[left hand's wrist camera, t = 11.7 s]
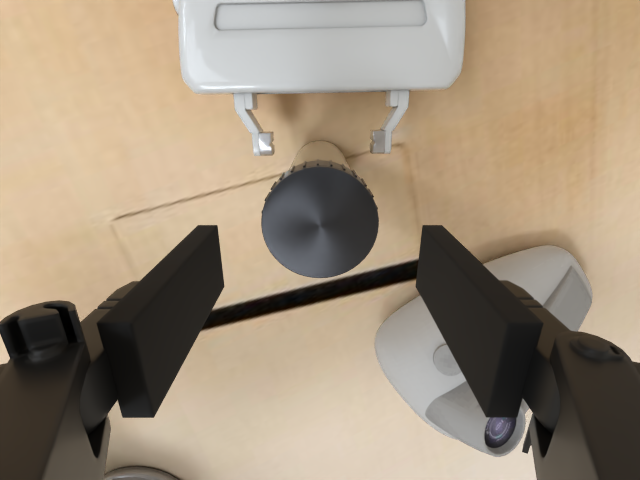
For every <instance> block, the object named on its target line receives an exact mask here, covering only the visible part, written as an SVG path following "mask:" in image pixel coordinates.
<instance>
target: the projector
mask: <svg viewBox="0 0 640 480" xmlns="http://www.w3.org/2000/svg"><path fill="white" fill-rule="evenodd" d="M483 265H484V266H485V267H486V268H487V269H488V270H489V271H490V272H491V273H492V274H493V275H494V276H495V277H496V278H497V279H498V280H508V281H510V282H512V283H514V284H516V285H518V286H520V287H521V288H523V289H524V290H526V291H527V292H528V293H529V294H530V295H531V296H532V297H533V298H534V300H537V301H538V302H539V303H540V304H541V305H542V306H543V308H546V309H547V310H548V311H549V312H550V313H552V314H553V315H554V316H555V317H556V318H557V319H558V320H559V321H561V322H562V323H563V324H564V325H565V326H566V327H567V328H568V329H570V330H571V331H577V332H578V330H579V328H580V326H581V324H582V322H583V320H584V318H585V316H586V314H587V312H588V310H589V308H590V306H591V303H592V289H591V286H590V283H589V281H588V279H587V277H586V275H585V273H584V271H583V270H582V268H581V266H580V264H579V263H578V262H577V260H576V259H575V258H574V256H573V255H572V254H570V253H569V252H568V251H566V250H565V249H563V248H560V247H557V246H553V245H544V246H538V247H533V248H530V249H526V250H522V251H519V252H515V253H512V254H509V255H506V256H503V257H500V258H498V259H495V260H492V261H489V262H487V263H484V264H483ZM375 351H376V355H377V359H378V362H379V364H380V366H381V368H382V371H383V372H384V374H385V376H386V377H387V379H388V380H389V382H390V383H391V384H392V386H393V387H394V388H395V390H396V391H397V392H398V393H399V395H400V396H401V397H402V398H403V400H404V401H405V402H406V403H407V404H408V405H409V406H410V407H411V408H412V409H413V411H414V412H415V413H416V414H417V415H418V416H419V417H421V418H422V419H423V420H424V421H425V422H426V423H427V424H429V425H430V426H431V427H433V428H434V429H435V430H437V431H439V432H440V433H442V434H444V435H446V436H448V437H450V438H453V439H457V440H460V441H461V442H463V443H465V444H467V445H469V446H471V447H473V448H475V449H477V450H479V451H481V452H484V453H487V454H489V455H492V456H495V457H500V456H505V455H507V454H508V453H510V452H511V451H512V450H513V449H515V447H516V446H517V445H518V444H519V442H520V440H521V438H522V436H523V433H524V430H525V413H526V412H527V410H528V409H529V406H528V405H527V404H526V402H525V401H524V399H522V402H521V406H520V410H519V413H518V417H517V418H486V416H485V414H484V413H483V411H482V409H481V407H480V405H479V403H478V401H477V399H476V398H475V396H474V394H473V392H472V390H471V388H470V386H469V385H468V383H467V381H466V379H465V377H464V375H463V373H462V372H461V370H460V368H459V366H458V364H457V362H456V360H455V359H454V357H453V355H452V353H451V351H450V349H449V347H448V346H447V344H446V342H445V340H444V338H443V336H442V334H441V333H440V331H439V329H438V327H437V325H436V323H435V321H434V320H433V318H432V316H431V314H430V312H429V310H428V308H427V307H426V305H425V303H424V301H423V299H422V297H421V295H419V296H418V297H416V298H415V299H413V300H411V301H410V302H408V303H407V304H405V305H404V306H402V307H401V308H399V309H398V310H397V311H395V312H394V313H393V314H391V315H390V316H389V317H388V318H387V319H386V320H385V321H384V322H383V323H382V325H381V326H380V327H379V329H378V331H377V333H376V337H375Z"/></svg>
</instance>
